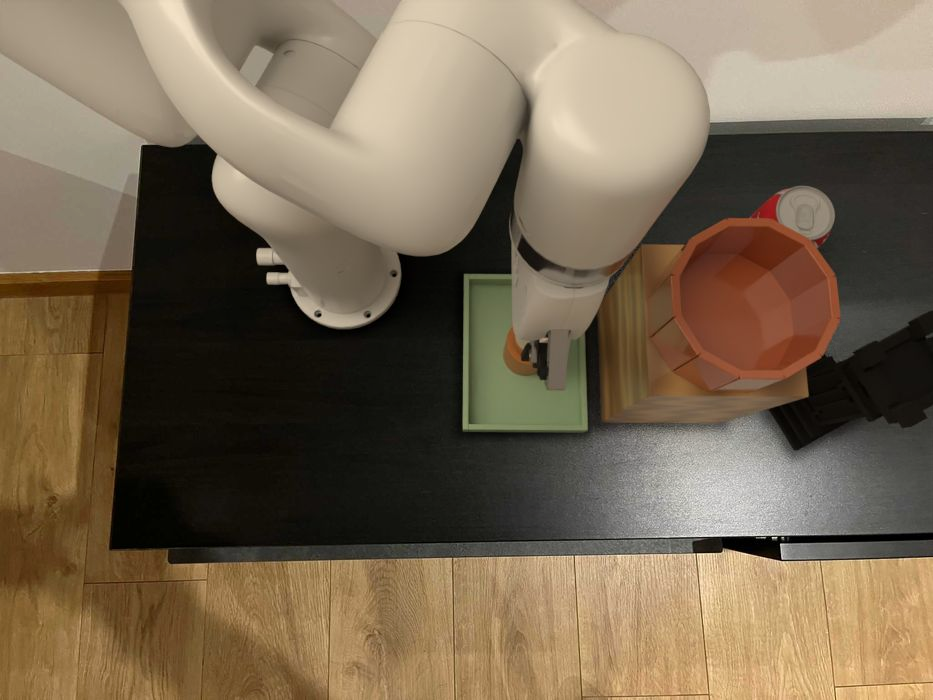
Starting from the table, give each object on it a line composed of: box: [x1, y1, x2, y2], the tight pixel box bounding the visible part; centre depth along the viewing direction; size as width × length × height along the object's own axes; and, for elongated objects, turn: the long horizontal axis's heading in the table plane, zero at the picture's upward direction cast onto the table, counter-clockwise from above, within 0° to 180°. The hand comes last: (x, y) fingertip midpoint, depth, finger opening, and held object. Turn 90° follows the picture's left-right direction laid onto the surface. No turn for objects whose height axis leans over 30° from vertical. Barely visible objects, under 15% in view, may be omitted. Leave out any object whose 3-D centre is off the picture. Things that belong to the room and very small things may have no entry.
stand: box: [596, 244, 809, 424], centre depth 67 cm, size 13×13×20 cm
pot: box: [648, 217, 842, 393], centre depth 54 cm, size 12×12×6 cm
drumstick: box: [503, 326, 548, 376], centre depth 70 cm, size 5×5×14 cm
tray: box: [462, 273, 589, 434], centre depth 76 cm, size 13×17×2 cm
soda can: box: [748, 185, 836, 249], centre depth 74 cm, size 7×7×12 cm
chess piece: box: [768, 309, 933, 452], centre depth 66 cm, size 8×8×20 cm
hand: (539, 299), depth 57 cm, fingers open, 9 cm apart
